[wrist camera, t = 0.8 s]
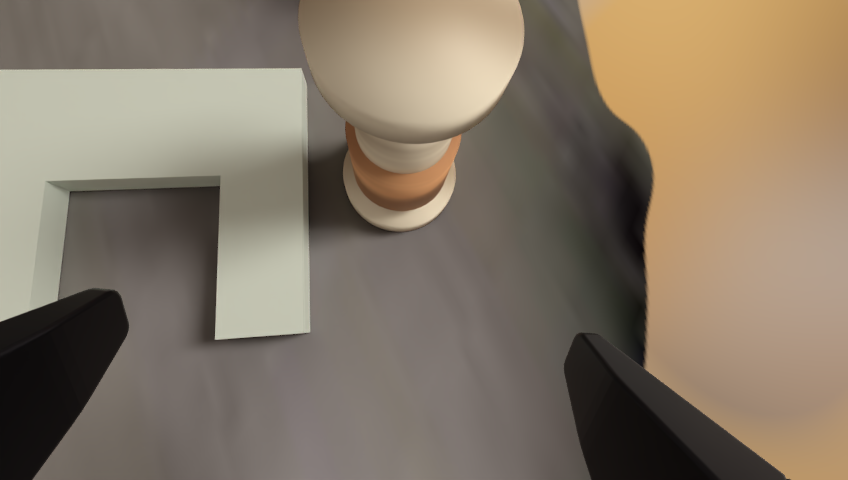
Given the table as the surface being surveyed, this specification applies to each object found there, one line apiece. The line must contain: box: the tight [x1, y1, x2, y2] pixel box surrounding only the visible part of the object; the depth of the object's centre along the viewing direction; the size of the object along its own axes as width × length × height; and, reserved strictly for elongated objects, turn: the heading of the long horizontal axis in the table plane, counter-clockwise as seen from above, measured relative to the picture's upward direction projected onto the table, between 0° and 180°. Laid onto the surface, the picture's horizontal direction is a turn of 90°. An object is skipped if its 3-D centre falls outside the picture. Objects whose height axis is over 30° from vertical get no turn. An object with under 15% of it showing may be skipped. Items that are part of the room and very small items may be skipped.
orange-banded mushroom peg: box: [298, 0, 524, 232], centre depth 16 cm, size 6×6×12 cm
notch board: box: [0, 68, 310, 340], centre depth 20 cm, size 14×16×2 cm
